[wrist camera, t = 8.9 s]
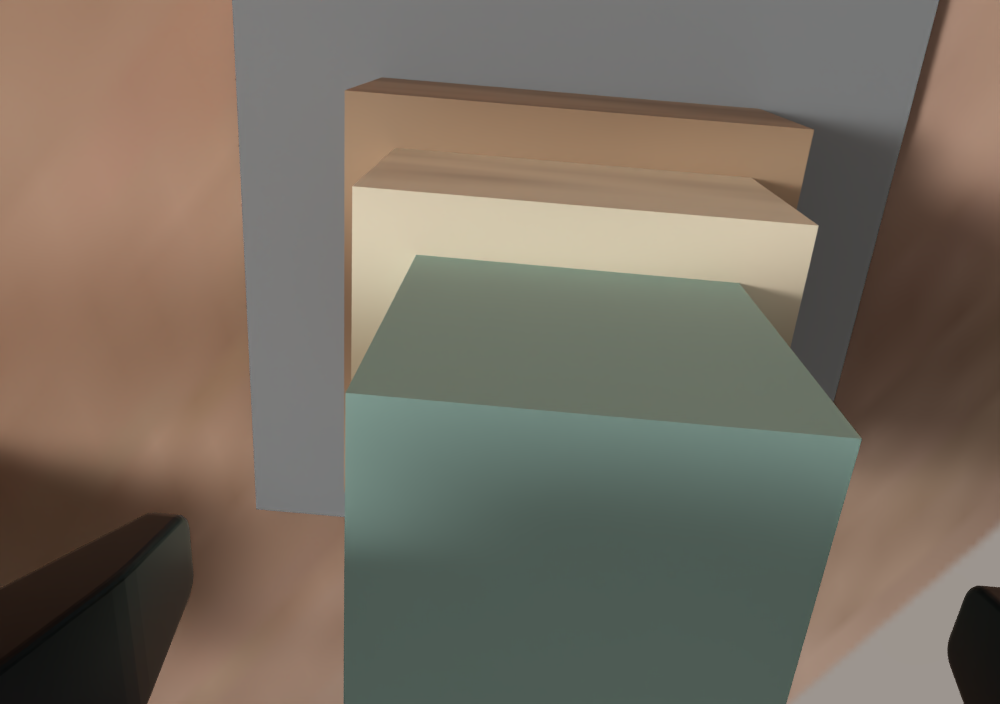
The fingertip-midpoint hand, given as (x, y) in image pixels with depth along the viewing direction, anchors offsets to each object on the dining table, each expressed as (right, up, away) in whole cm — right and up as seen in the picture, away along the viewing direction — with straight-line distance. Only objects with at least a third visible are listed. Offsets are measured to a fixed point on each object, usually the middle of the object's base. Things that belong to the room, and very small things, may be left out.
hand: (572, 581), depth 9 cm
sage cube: (0, +2, +4) cm, 4 cm away
